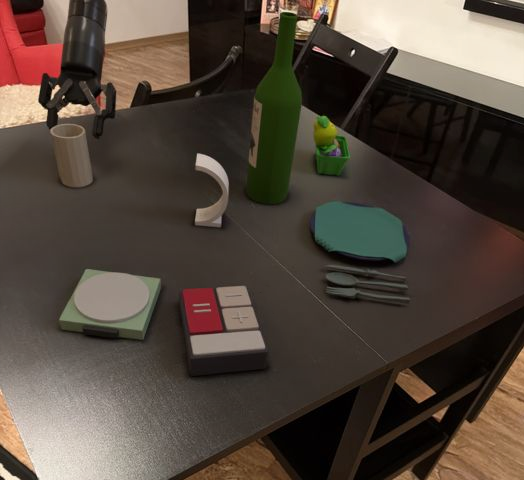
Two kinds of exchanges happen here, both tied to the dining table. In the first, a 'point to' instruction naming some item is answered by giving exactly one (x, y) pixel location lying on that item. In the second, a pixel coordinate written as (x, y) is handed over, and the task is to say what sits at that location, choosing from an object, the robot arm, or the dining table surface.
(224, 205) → the headphone stand
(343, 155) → the fruit basket
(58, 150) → the cream cup
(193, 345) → the calculator
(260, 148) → the wine bottle
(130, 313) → the scale
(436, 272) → the dining table surface
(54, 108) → the robot arm
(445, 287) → the dining table surface
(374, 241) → the cutlery set
